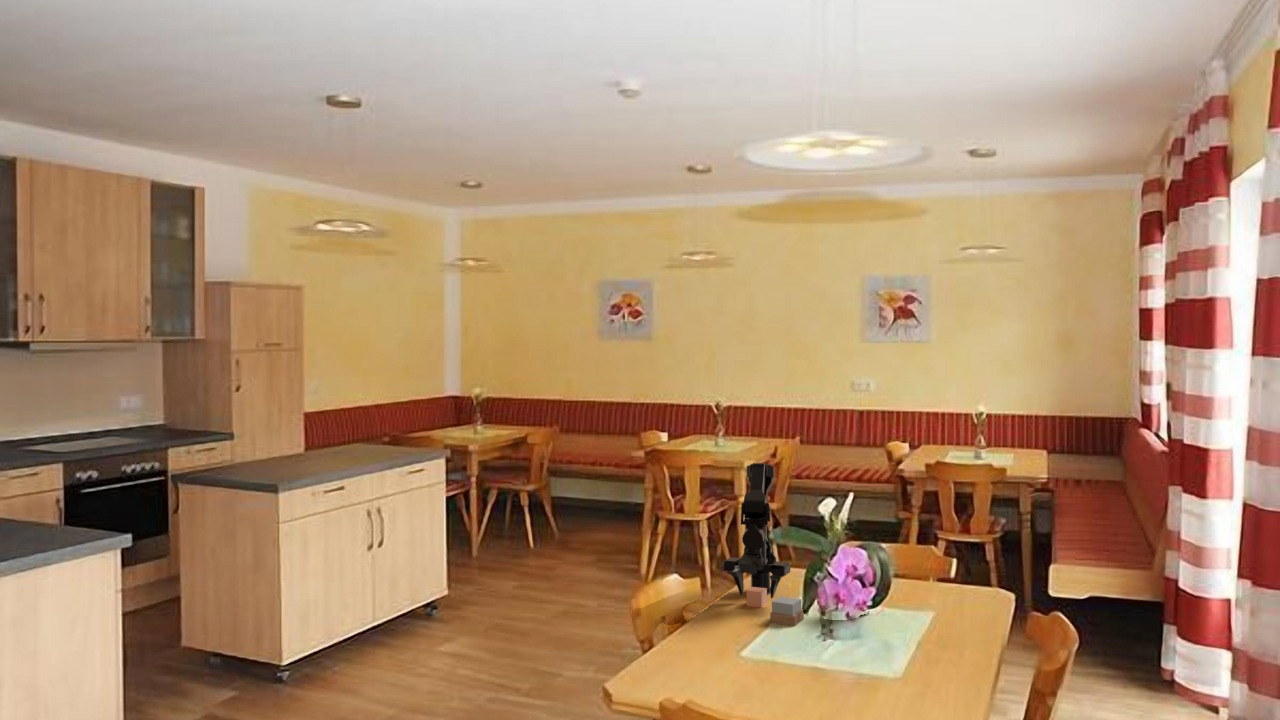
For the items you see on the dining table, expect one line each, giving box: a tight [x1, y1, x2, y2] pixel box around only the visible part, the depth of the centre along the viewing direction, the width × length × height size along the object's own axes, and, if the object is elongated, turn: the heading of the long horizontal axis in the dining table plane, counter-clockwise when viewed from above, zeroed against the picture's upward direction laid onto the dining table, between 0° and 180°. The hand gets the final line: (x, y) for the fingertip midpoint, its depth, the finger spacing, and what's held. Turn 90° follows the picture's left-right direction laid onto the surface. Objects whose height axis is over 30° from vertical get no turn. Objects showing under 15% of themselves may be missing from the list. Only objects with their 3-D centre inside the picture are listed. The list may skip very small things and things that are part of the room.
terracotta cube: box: [746, 586, 768, 608], centre depth 281 cm, size 4×4×4 cm
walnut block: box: [769, 609, 805, 627], centre depth 265 cm, size 7×7×3 cm
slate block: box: [771, 595, 802, 616], centre depth 265 cm, size 6×6×3 cm
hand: (756, 596), depth 281 cm, fingers open, 9 cm apart
